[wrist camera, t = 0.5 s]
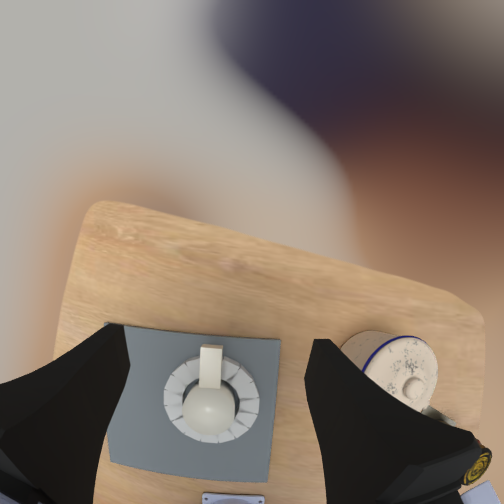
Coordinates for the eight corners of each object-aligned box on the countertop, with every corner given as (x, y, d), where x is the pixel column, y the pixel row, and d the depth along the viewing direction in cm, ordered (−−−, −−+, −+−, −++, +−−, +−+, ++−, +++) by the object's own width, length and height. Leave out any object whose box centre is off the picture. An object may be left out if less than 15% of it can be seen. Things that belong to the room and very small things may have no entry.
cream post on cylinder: (233, 418, 30) (233, 437, 25) (189, 414, 30) (181, 432, 25) (238, 342, 31) (238, 351, 26) (191, 338, 31) (183, 346, 26)
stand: (266, 478, 30) (268, 490, 27) (113, 458, 29) (105, 468, 26) (279, 339, 32) (283, 343, 29) (107, 322, 32) (96, 324, 29)
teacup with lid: (315, 375, 32) (350, 409, 20) (362, 313, 33) (415, 318, 22) (381, 421, 31) (428, 458, 20) (422, 364, 33) (480, 382, 21)
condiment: (427, 461, 30) (471, 495, 18) (395, 446, 31) (440, 485, 19) (455, 422, 31) (505, 447, 20) (426, 403, 32) (480, 430, 20)
